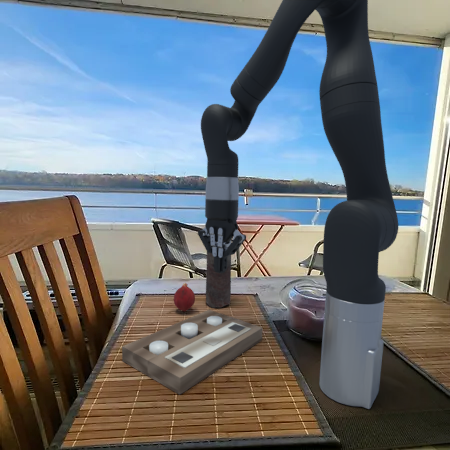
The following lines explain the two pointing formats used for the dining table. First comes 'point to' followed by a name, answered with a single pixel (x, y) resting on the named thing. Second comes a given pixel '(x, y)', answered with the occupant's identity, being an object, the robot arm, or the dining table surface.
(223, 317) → the button board
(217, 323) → the button right
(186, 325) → the button middle
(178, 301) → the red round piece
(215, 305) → the candle
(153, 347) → the button left
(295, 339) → the dining table surface
